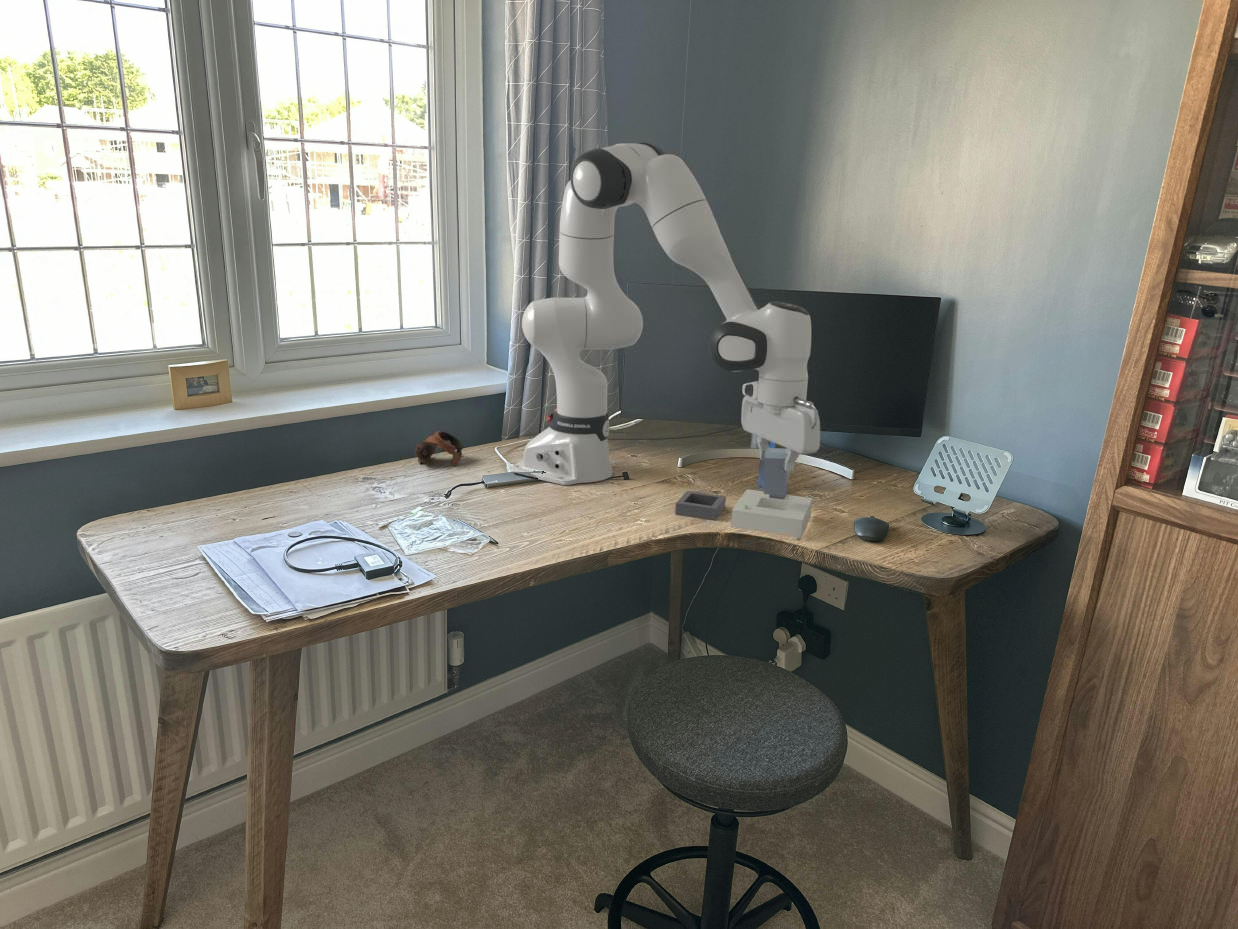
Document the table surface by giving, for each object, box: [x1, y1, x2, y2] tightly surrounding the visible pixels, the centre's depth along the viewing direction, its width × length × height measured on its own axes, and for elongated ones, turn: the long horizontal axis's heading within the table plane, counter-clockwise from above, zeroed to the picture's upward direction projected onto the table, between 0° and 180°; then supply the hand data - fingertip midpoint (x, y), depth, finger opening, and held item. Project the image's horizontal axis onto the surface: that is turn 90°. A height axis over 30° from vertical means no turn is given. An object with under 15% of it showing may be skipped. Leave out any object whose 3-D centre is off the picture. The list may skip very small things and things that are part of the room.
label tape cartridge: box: [757, 441, 791, 495], centre depth 177 cm, size 9×4×12 cm, turn 11°
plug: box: [763, 447, 789, 495], centre depth 156 cm, size 4×4×8 cm
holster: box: [674, 490, 727, 522], centre depth 164 cm, size 8×8×3 cm
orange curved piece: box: [415, 430, 464, 466], centre depth 191 cm, size 12×10×8 cm
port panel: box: [730, 489, 813, 541], centre depth 159 cm, size 13×13×4 cm
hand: (776, 465), depth 156 cm, fingers closed on plug, 6 cm apart
